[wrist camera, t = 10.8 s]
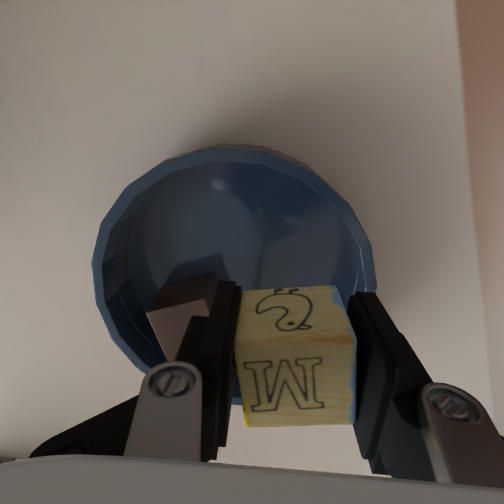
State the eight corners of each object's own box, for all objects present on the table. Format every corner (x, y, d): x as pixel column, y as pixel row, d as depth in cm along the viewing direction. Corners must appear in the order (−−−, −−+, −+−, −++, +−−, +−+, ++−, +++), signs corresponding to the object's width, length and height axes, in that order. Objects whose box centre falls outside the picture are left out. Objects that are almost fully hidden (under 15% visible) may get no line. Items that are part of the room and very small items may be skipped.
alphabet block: (337, 358, 12) (358, 431, 9) (250, 363, 12) (245, 435, 10) (335, 280, 11) (359, 335, 8) (240, 288, 11) (231, 343, 9)
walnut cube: (214, 271, 22) (204, 298, 19) (230, 318, 23) (224, 350, 20) (163, 284, 22) (145, 312, 19) (181, 329, 23) (167, 363, 20)
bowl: (378, 153, 19) (404, 161, 16) (336, 370, 25) (349, 415, 21) (112, 134, 20) (76, 137, 16) (128, 353, 25) (104, 394, 21)
